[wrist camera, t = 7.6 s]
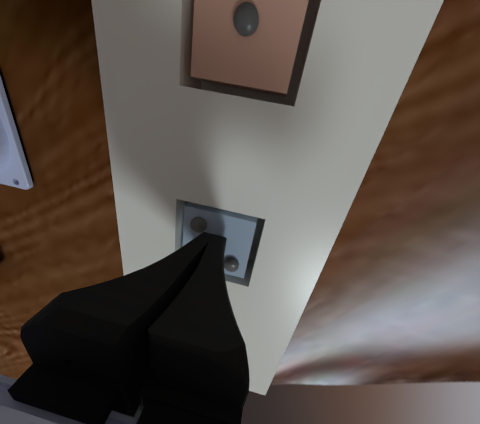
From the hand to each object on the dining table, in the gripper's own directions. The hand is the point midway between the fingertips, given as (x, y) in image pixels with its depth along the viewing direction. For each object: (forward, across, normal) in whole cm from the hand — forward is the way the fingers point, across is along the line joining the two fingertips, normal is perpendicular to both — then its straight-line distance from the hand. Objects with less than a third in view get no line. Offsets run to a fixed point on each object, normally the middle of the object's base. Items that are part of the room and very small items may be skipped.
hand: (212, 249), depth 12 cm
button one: (+3, 0, -10) cm, 10 cm away
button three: (+3, 0, 0) cm, 3 cm away
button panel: (+3, 0, 0) cm, 3 cm away
